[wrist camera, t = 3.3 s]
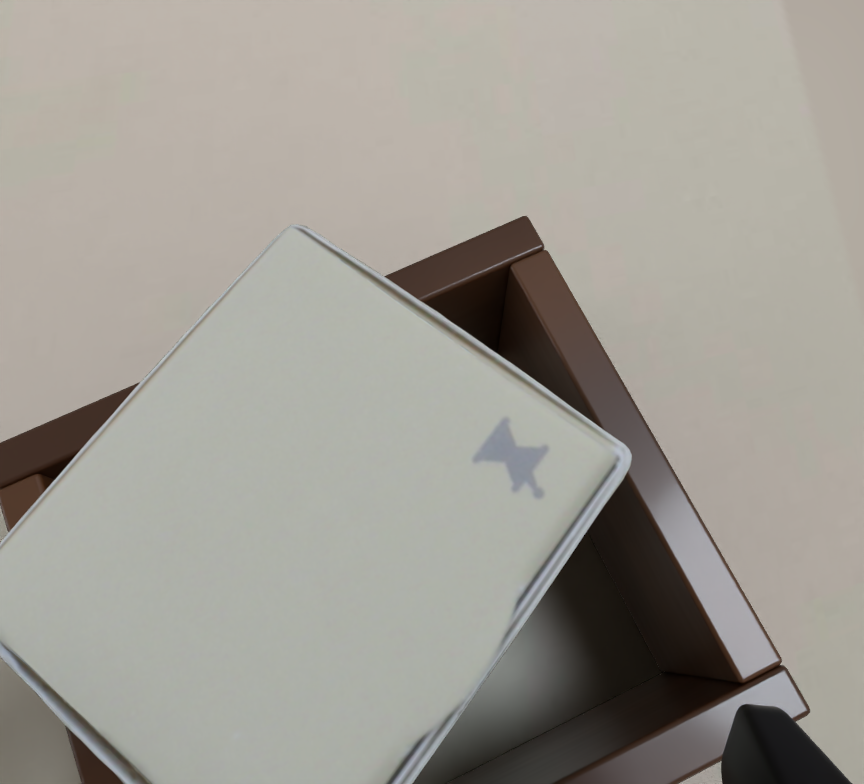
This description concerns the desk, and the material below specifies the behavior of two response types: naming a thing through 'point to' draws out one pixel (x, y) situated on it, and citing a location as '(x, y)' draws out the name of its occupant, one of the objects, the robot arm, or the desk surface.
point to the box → (299, 536)
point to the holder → (610, 532)
